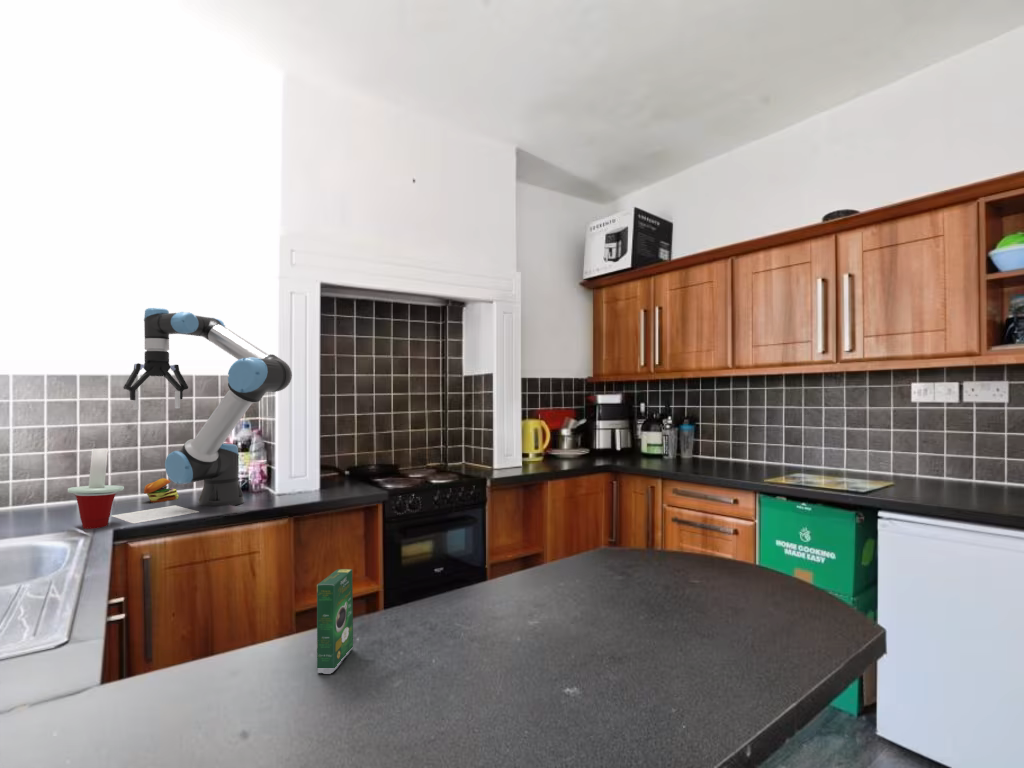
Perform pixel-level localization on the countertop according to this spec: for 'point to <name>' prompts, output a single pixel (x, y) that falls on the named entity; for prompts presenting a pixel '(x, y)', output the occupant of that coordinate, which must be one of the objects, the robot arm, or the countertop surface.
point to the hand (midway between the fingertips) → (157, 409)
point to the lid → (97, 476)
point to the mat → (154, 514)
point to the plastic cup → (95, 509)
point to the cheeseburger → (160, 491)
